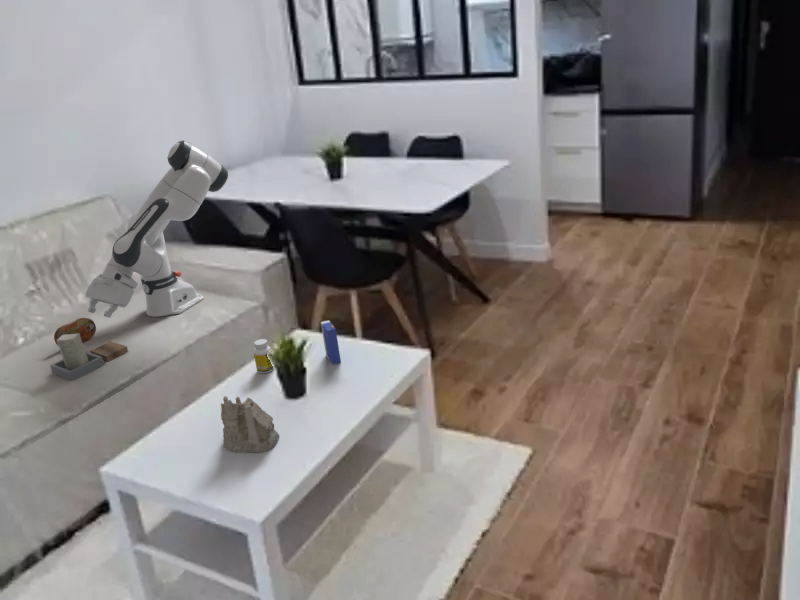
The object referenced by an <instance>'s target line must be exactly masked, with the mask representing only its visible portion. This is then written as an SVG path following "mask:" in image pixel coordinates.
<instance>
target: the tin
mask: <svg viewBox="0 0 800 600" xmlns="http://www.w3.org/2000/svg"><path fill="white" fill-rule="evenodd" d="M96 331H97V326H96V323H95V322H94V320H92V319H91V318H88V317H79V318H76V319H75V320H72V321H70V322H69V323H65V324H64V325H61V326H59V327H58V328H57V329H56V331H55V332H54V336H53V341H54V342H55V345H56V346H58V343H57V339H58V338H60V337H61V336H62V335H65V334H77V333H79V334H80V337H81V340H82V343H85V342H87V341H90V340H92V338H93V337H95V335H96Z"/></svg>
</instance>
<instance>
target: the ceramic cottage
mask: <svg viewBox="0 0 800 600" xmlns="http://www.w3.org/2000/svg"><path fill="white" fill-rule="evenodd" d="M222 400H223V403H222V402H221V403H220V408H221V411H220V419H221V421H222V424H223V428H222V433H223V435H222V436H223V447H224V448H225V449H226V450H227V451H229V452H231V453H243V454H244V453H247V454H262V453H266V452H268V451H270V450H272V449H274V448H275V447H276V446H277V445H278V442H279V441H280V434H279V432H278V431H277V430H276V429H275V423H274V422H273V421H274V418H273V417H272V416H271V415H270V414H268V413H267V412H266V411H265V410H264V409H262V407H261V406H260V405H259V404H258V403H257V402H255V401H254V400H253V399H252V398H250V397H246V399H245V400H244V401H243V402H242V401H241V397H240V396H236V397H235V403H233V402H232V399H228V396H226V395H225V396H223V398H222Z"/></svg>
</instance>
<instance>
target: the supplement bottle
mask: <svg viewBox="0 0 800 600" xmlns="http://www.w3.org/2000/svg"><path fill="white" fill-rule="evenodd" d="M253 343H254V349H253V356H254V361H255V366H256V371H257V373H258V374H268V373H271V372H272V371H274V369H273V366H272V364H271V362H270V360H269V359H268V357H267V353H268V351H269V350H271V351H272V348H271V347H270V346H269V343H268V340H267V339H265V338H261V339H257V340H255V341H254V342H253Z"/></svg>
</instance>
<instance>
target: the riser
mask: <svg viewBox="0 0 800 600" xmlns="http://www.w3.org/2000/svg"><path fill="white" fill-rule="evenodd" d="M128 352H129V349H128V346H127V345H124V344H121V343H117V342H113V341H111V340H110V341H107V342H106V343H103V344H101V345H99V346H97V347H95V348H92V349H91V350H89V353H92V354H95V355H98V356H101V357H102V358H103V361H105V362H110V361H112V360H115V359H116V358H119V357H120V356H122V355H125V354H127V353H128Z"/></svg>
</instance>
